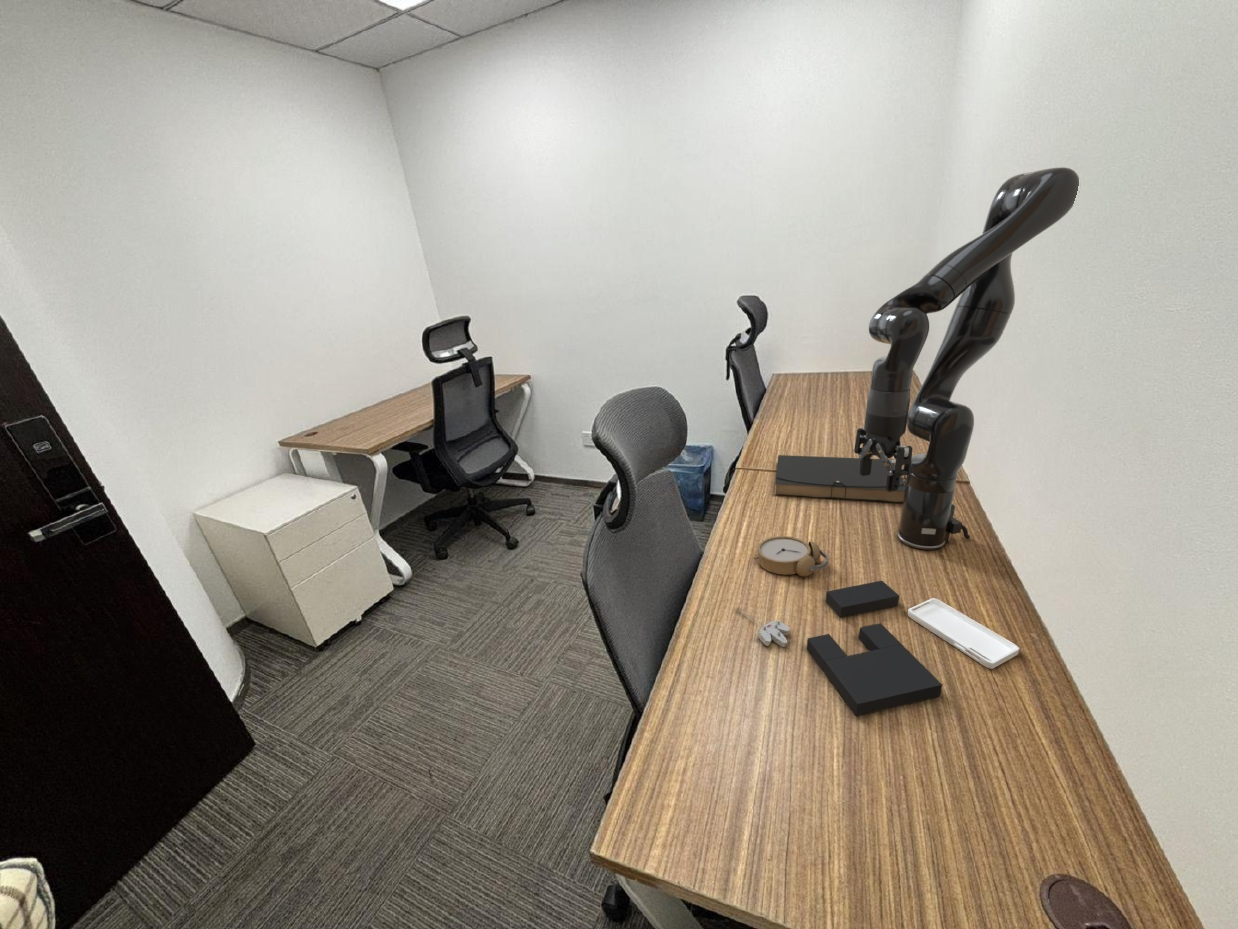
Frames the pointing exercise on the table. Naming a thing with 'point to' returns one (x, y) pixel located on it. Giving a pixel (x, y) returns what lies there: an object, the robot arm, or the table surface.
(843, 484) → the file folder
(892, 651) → the notched pad
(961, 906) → the table surface
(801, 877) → the table surface
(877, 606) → the pad strip
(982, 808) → the table surface
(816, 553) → the alarm clock
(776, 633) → the game controller
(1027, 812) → the table surface
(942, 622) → the phone case
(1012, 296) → the robot arm
